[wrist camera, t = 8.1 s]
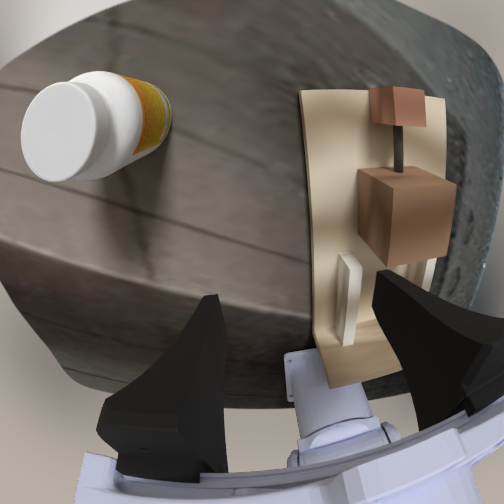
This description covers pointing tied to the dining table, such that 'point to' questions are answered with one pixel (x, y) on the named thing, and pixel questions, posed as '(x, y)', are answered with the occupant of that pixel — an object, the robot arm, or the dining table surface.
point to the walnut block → (403, 190)
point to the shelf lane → (355, 225)
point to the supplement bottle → (93, 126)
